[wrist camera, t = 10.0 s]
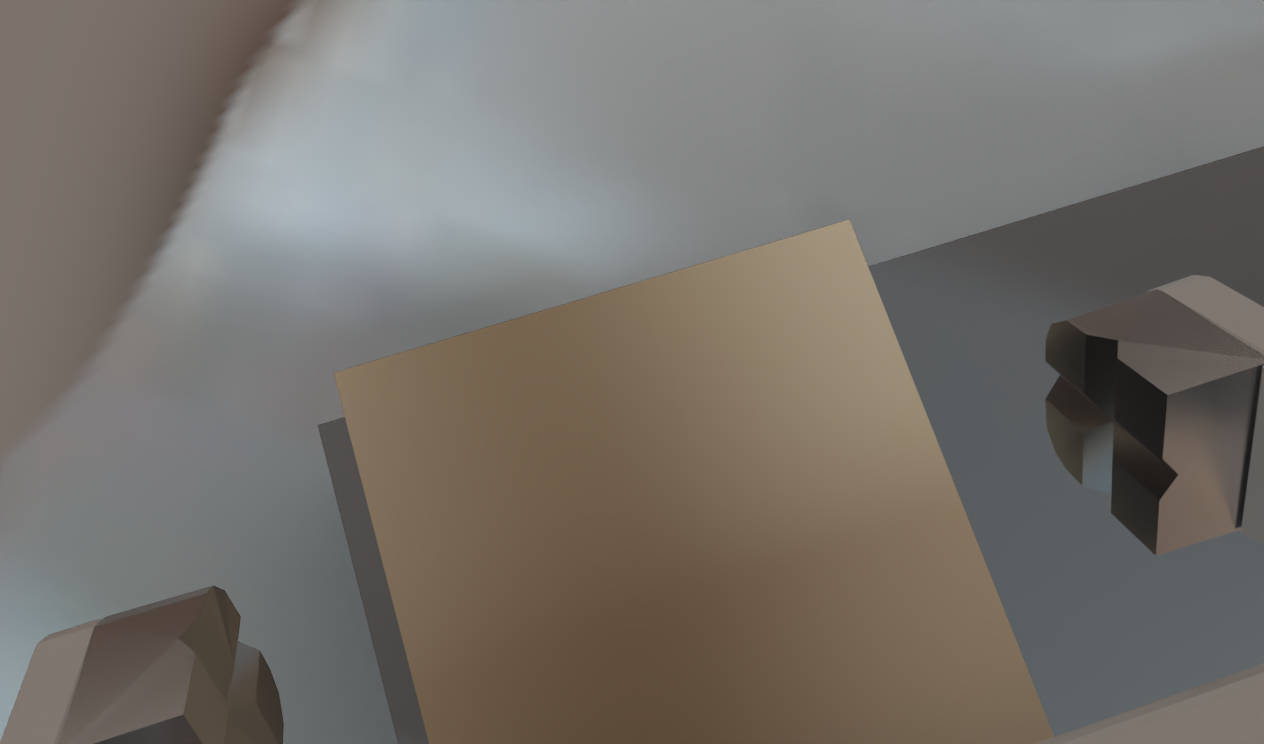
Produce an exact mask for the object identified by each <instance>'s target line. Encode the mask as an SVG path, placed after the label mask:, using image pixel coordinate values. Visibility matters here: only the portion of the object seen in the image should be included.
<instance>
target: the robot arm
mask: <svg viewBox="0 0 1264 744" xmlns="http://www.w3.org/2000/svg"><path fill="white" fill-rule="evenodd" d="M1045 361H1046V362H1047V363H1048V364H1049V365H1050V366H1051V367H1052V368H1053V369H1054V370H1055V371H1056V372H1057V373H1058V374H1059V375H1060V376H1059V377H1058V379H1057V381H1056V382H1055V384H1054V385H1053V387H1052V389H1051V390H1050V392H1049V394H1048V395H1047V397H1046V399H1045V403H1046V426H1047V430H1048V433H1049V436H1050V438H1051V441H1052V444H1053V447H1054V450H1055V453H1056V454H1057V456H1058V457H1059V459H1060V460H1061V462H1062V463H1063V465H1064V467H1065V468H1066V470H1067V471H1068V472H1069V473H1070V474H1071V475H1072V476H1073V477H1074V478H1075V479H1076V480H1077V481H1078V482H1079V483H1080V484H1081V485H1082V486H1085V487H1088V488H1092V489H1095V490H1098V491H1101V492H1105V493H1108V494H1111V514H1112V515H1113V516H1114V517H1115V518H1117V519H1118V520H1119V521H1120V522H1121V523H1122V524H1123V525H1124V526H1125V527H1126V528H1127V529H1128V530H1129V531H1130V532H1131V533H1132V534H1133V535H1134V536H1136V537H1137V538H1138V539H1139V540H1140V541H1141V542H1142V543H1143V544H1144V545H1145V546H1146V547H1147V548H1148V549H1149V550H1150V551H1151V552H1152V553H1153V554H1154V555H1156V556H1157V555H1160V554H1163V553H1167V552H1170V551H1173V550H1176V549H1179V548H1183V547H1186V546H1189V545H1192V544H1196V543H1199V542H1202V541H1205V540H1209V539H1212V538H1215V537H1218V536H1222V535H1225V534H1228V533H1231V532H1235V531H1238V530H1241V534H1242V535H1245V536H1247V537H1250V538H1252V539H1255V540H1257V541H1260V542H1262V543H1264V307H1263V306H1261V305H1259V304H1257V303H1255V302H1254V301H1252V300H1250V299H1248V298H1247V297H1245V296H1243V295H1241V294H1240V293H1238V292H1236V291H1234V290H1233V289H1231V288H1229V287H1227V286H1226V285H1224V284H1222V283H1220V282H1219V281H1217V280H1215V279H1213V278H1211V277H1208V276H1200V275H1191V276H1188V277H1186V278H1183V279H1180V280H1177V281H1174V282H1171V283H1168V284H1165V285H1163V286H1160V287H1157V288H1154V289H1151V290H1148V291H1146V292H1145V293H1144V294H1141V295H1138V296H1135V297H1131V298H1128V299H1125V300H1122V301H1119V302H1116V303H1113V304H1110V305H1107V306H1104V307H1101V308H1098V309H1095V310H1091V311H1088V312H1085V313H1082V314H1079V315H1076V316H1073V317H1070V318H1067V319H1064V320H1061V321H1058V322H1055V323H1051V326H1050V328H1049V331H1048V334H1047V337H1046V350H1045ZM239 626H240V615H239V613H238V612H237V610H236V608H235V607H234V605H233V604H232V602H231V600H230V599H229V597H228V595H227V594H226V592H225V591H224V590H222V589H220V588H217V587H215V586H210V587H207V588H203V589H200V590H197V591H193V592H190V593H186V594H183V595H179V596H176V597H173V598H169V599H166V600H162V601H159V602H155V603H152V604H149V605H145V606H142V607H138V608H135V609H131V610H128V611H125V612H121V613H118V614H114V615H111V616H107V617H105V618H104V619H100V620H94V621H91V622H88V623H85V624H82V625H78V626H75V627H72V628H69V629H66V630H62V631H59V632H56V633H53V634H50V635H48V636H47V637H46V638H44V639H43V640H42V641H40V642H39V643H38V644H37V646H36V648H35V650H34V653H33V656H32V658H31V661H30V664H29V666H28V669H27V672H26V674H25V677H24V680H23V682H22V685H21V688H20V691H19V693H18V696H17V699H16V701H15V704H14V707H13V709H12V712H11V715H10V717H9V720H8V723H7V725H6V728H5V731H4V734H3V736H2V739H1V742H0V744H283V726H284V724H283V717H282V711H281V704H280V698H279V693H278V690H277V687H276V684H275V682H274V679H273V676H272V673H271V671H270V669H269V667H268V665H267V663H266V661H265V659H264V658H263V656H262V654H261V652H260V651H259V650H256V649H254V648H252V647H250V646H248V645H245V644H243V643H241V642H239V641H238V634H239ZM1034 744H1264V663H1262V664H1259V665H1256V666H1253V667H1250V668H1247V669H1245V670H1242V671H1239V672H1236V673H1233V674H1230V675H1227V676H1225V677H1222V678H1219V679H1216V680H1213V681H1210V682H1208V683H1205V684H1202V685H1199V686H1196V687H1193V688H1191V689H1188V690H1185V691H1182V692H1179V693H1176V694H1173V695H1171V696H1168V697H1165V698H1162V699H1159V700H1156V701H1154V702H1151V703H1148V704H1145V705H1142V706H1139V707H1137V708H1134V709H1131V710H1128V711H1125V712H1122V713H1119V714H1117V715H1114V716H1111V717H1108V718H1105V719H1102V720H1100V721H1097V722H1094V723H1091V724H1088V725H1085V726H1083V727H1080V728H1077V729H1074V730H1071V731H1068V732H1066V733H1063V734H1060V735H1057V736H1054V737H1051V738H1048V739H1046V740H1043V741H1040V742H1037V743H1034Z"/></svg>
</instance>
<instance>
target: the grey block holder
mask: <svg viewBox="0 0 1264 744" xmlns="http://www.w3.org/2000/svg"><path fill="white" fill-rule="evenodd" d="M869 270H870V273H871V275H872V278H873V280H874V283H875V285H876V288H877V290H878V293H879V295H880V298H881V300H882V303H883V305H884V308H885V310H886V313H887V315H888V318H889V320H890V323H891V326H892V328H893V331H894V333H895V336H896V338H897V341H898V343H899V346H900V348H901V351H902V353H903V356H904V358H905V361H906V363H907V366H908V368H909V371H910V373H911V376H912V379H913V381H914V384H915V386H916V389H917V391H918V394H919V396H920V399H921V401H922V404H923V406H924V409H925V411H926V414H927V416H928V419H929V421H930V424H931V426H932V429H933V432H934V434H935V437H936V439H937V442H938V444H939V447H940V449H941V452H942V454H943V457H944V459H945V462H946V464H947V467H948V469H949V472H950V474H951V477H952V480H953V482H954V485H955V487H956V490H957V492H958V495H959V497H960V500H961V502H962V505H963V507H964V510H965V512H966V515H967V517H968V520H969V522H970V525H971V527H972V530H973V533H974V535H975V538H976V540H977V543H978V545H979V548H980V550H981V553H982V555H983V558H984V560H985V563H986V565H987V568H988V570H989V573H990V575H991V578H992V580H993V583H994V586H995V588H996V591H997V593H998V596H999V598H1000V601H1001V603H1002V606H1003V608H1004V611H1005V613H1006V616H1007V618H1008V621H1009V623H1010V626H1011V628H1012V631H1013V633H1014V636H1015V639H1016V641H1017V644H1018V646H1019V649H1020V651H1021V654H1022V656H1023V659H1024V661H1025V664H1026V666H1027V669H1028V671H1029V674H1030V676H1031V679H1032V681H1033V684H1034V686H1035V689H1036V692H1037V694H1038V697H1039V699H1040V702H1041V704H1042V707H1043V709H1044V712H1045V714H1046V717H1047V719H1048V722H1049V724H1050V727H1051V729H1052V732H1053V734H1054V736H1057V735H1060V734H1063V733H1066V732H1068V731H1071V730H1074V729H1077V728H1080V727H1083V726H1085V725H1088V724H1091V723H1094V722H1097V721H1100V720H1102V719H1105V718H1108V717H1111V716H1114V715H1117V714H1119V713H1122V712H1125V711H1128V710H1131V709H1134V708H1137V707H1139V706H1142V705H1145V704H1148V703H1151V702H1154V701H1156V700H1159V699H1162V698H1165V697H1168V696H1171V695H1173V694H1176V693H1179V692H1182V691H1185V690H1188V689H1191V688H1193V687H1196V686H1199V685H1202V684H1205V683H1208V682H1210V681H1213V680H1216V679H1219V678H1222V677H1225V676H1227V675H1230V674H1233V673H1236V672H1239V671H1242V670H1245V669H1247V668H1250V667H1253V666H1256V665H1259V664H1262V663H1264V543H1262V542H1260V541H1257V540H1255V539H1252V538H1250V537H1247V536H1245V535H1242V534H1241V530H1238V531H1235V532H1231V533H1228V534H1225V535H1222V536H1218V537H1215V538H1212V539H1209V540H1205V541H1202V542H1199V543H1196V544H1192V545H1189V546H1186V547H1183V548H1179V549H1176V550H1173V551H1170V552H1167V553H1163V554H1160V555H1157V556H1156V555H1154V554H1153V553H1152V552H1151V551H1150V550H1149V549H1148V548H1147V547H1146V546H1145V545H1144V544H1143V543H1142V542H1141V541H1140V540H1139V539H1138V538H1137V537H1136V536H1134V535H1133V534H1132V533H1131V532H1130V531H1129V530H1128V529H1127V528H1126V527H1125V526H1124V525H1123V524H1122V523H1121V522H1120V521H1119V520H1118V519H1117V518H1115V517H1114V516H1113V515H1112V514H1111V494H1108V493H1105V492H1101V491H1098V490H1095V489H1092V488H1088V487H1085V486H1082V485H1081V484H1080V483H1079V482H1078V481H1077V480H1076V479H1075V478H1074V477H1073V476H1072V475H1071V474H1070V473H1069V472H1068V471H1067V470H1066V468H1065V467H1064V465H1063V463H1062V462H1061V460H1060V459H1059V457H1058V456H1057V454H1056V453H1055V450H1054V447H1053V444H1052V441H1051V438H1050V436H1049V433H1048V430H1047V426H1046V403H1045V399H1046V397H1047V395H1048V394H1049V392H1050V390H1051V389H1052V387H1053V385H1054V384H1055V382H1056V381H1057V379H1058V377H1059V376H1060V375H1059V374H1058V373H1057V372H1056V371H1055V370H1054V369H1053V368H1052V367H1051V366H1050V365H1049V364H1048V363H1047V362H1046V361H1045V350H1046V337H1047V334H1048V331H1049V328H1050V326H1051V323H1055V322H1058V321H1061V320H1064V319H1067V318H1070V317H1073V316H1076V315H1079V314H1082V313H1085V312H1088V311H1091V310H1095V309H1098V308H1101V307H1104V306H1107V305H1110V304H1113V303H1116V302H1119V301H1122V300H1125V299H1128V298H1131V297H1135V296H1138V295H1141V294H1144V293H1145V292H1146V291H1148V290H1151V289H1154V288H1157V287H1160V286H1163V285H1165V284H1168V283H1171V282H1174V281H1177V280H1180V279H1183V278H1186V277H1188V276H1191V275H1200V276H1208V277H1211V278H1213V279H1215V280H1217V281H1219V282H1220V283H1222V284H1224V285H1226V286H1227V287H1229V288H1231V289H1233V290H1234V291H1236V292H1238V293H1240V294H1241V295H1243V296H1245V297H1247V298H1248V299H1250V300H1252V301H1254V302H1255V303H1257V304H1259V305H1261V306H1263V307H1264V147H1261V148H1258V149H1254V150H1251V151H1248V152H1244V153H1241V154H1238V155H1235V156H1231V157H1228V158H1225V159H1221V160H1218V161H1215V162H1212V163H1208V164H1205V165H1202V166H1198V167H1195V168H1192V169H1188V170H1185V171H1182V172H1179V173H1175V174H1172V175H1169V176H1165V177H1162V178H1159V179H1156V180H1152V181H1149V182H1146V183H1142V184H1139V185H1136V186H1133V187H1129V188H1126V189H1123V190H1119V191H1116V192H1113V193H1109V194H1106V195H1103V196H1100V197H1096V198H1093V199H1090V200H1086V201H1083V202H1080V203H1077V204H1073V205H1070V206H1067V207H1063V208H1060V209H1057V210H1054V211H1050V212H1047V213H1044V214H1040V215H1037V216H1034V217H1030V218H1027V219H1024V220H1021V221H1017V222H1014V223H1011V224H1007V225H1004V226H1001V227H998V228H994V229H991V230H988V231H984V232H981V233H978V234H975V235H971V236H968V237H965V238H961V239H958V240H955V241H951V242H948V243H945V244H942V245H938V246H935V247H932V248H928V249H925V250H922V251H919V252H915V253H912V254H909V255H905V256H902V257H899V258H896V259H892V260H889V261H886V262H882V263H879V264H876V265H872V266H869ZM318 427H319V431H320V435H321V439H322V443H323V447H324V451H325V455H326V459H327V463H328V467H329V471H330V475H331V479H332V483H333V487H334V491H335V495H336V499H337V503H338V506H339V510H340V514H341V518H342V522H343V526H344V530H345V534H346V538H347V542H348V546H349V550H350V554H351V558H352V562H353V566H354V570H355V574H356V578H357V582H358V586H359V590H360V594H361V597H362V601H363V605H364V609H365V613H366V617H367V621H368V625H369V629H370V633H371V637H372V641H373V645H374V649H375V653H376V657H377V661H378V665H379V669H380V673H381V677H382V681H383V685H384V688H385V692H386V696H387V700H388V704H389V708H390V712H391V716H392V720H393V724H394V728H395V732H396V736H397V740H398V744H429V741H428V737H427V733H426V729H425V725H424V721H423V717H422V714H421V710H420V706H419V702H418V698H417V694H416V690H415V686H414V683H413V679H412V675H411V671H410V667H409V663H408V659H407V655H406V652H405V648H404V644H403V640H402V636H401V632H400V628H399V624H398V621H397V617H396V613H395V609H394V605H393V601H392V597H391V593H390V590H389V586H388V582H387V578H386V574H385V570H384V566H383V562H382V559H381V555H380V551H379V547H378V543H377V539H376V535H375V531H374V528H373V524H372V520H371V516H370V512H369V508H368V504H367V500H366V497H365V493H364V489H363V485H362V481H361V477H360V473H359V469H358V466H357V462H356V458H355V454H354V450H353V446H352V442H351V438H350V435H349V431H348V427H347V423H346V419H345V417H343V418H340V419H337V420H334V421H330V422H327V423H324V424H320V425H318Z"/></svg>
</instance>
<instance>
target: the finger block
mask: <svg viewBox="0 0 1264 744" xmlns="http://www.w3.org/2000/svg"><path fill="white" fill-rule="evenodd" d="M334 376H335V380H336V384H337V388H338V392H339V396H340V400H341V404H342V407H343V411H344V415H345V419H346V423H347V427H348V431H349V435H350V438H351V442H352V446H353V450H354V454H355V458H356V462H357V466H358V469H359V473H360V477H361V481H362V485H363V489H364V493H365V497H366V500H367V504H368V508H369V512H370V516H371V520H372V524H373V528H374V531H375V535H376V539H377V543H378V547H379V551H380V555H381V559H382V562H383V566H384V570H385V574H386V578H387V582H388V586H389V590H390V593H391V597H392V601H393V605H394V609H395V613H396V617H397V621H398V624H399V628H400V632H401V636H402V640H403V644H404V648H405V652H406V655H407V659H408V663H409V667H410V671H411V675H412V679H413V683H414V686H415V690H416V694H417V698H418V702H419V706H420V710H421V714H422V717H423V721H424V725H425V729H426V733H427V737H428V741H429V744H1034V743H1037V742H1040V741H1043V740H1046V739H1048V738H1051V737H1054V734H1053V732H1052V729H1051V727H1050V724H1049V722H1048V719H1047V717H1046V714H1045V712H1044V709H1043V707H1042V704H1041V702H1040V699H1039V697H1038V694H1037V692H1036V689H1035V686H1034V684H1033V681H1032V679H1031V676H1030V674H1029V671H1028V669H1027V666H1026V664H1025V661H1024V659H1023V656H1022V654H1021V651H1020V649H1019V646H1018V644H1017V641H1016V639H1015V636H1014V633H1013V631H1012V628H1011V626H1010V623H1009V621H1008V618H1007V616H1006V613H1005V611H1004V608H1003V606H1002V603H1001V601H1000V598H999V596H998V593H997V591H996V588H995V586H994V583H993V580H992V578H991V575H990V573H989V570H988V568H987V565H986V563H985V560H984V558H983V555H982V553H981V550H980V548H979V545H978V543H977V540H976V538H975V535H974V533H973V530H972V527H971V525H970V522H969V520H968V517H967V515H966V512H965V510H964V507H963V505H962V502H961V500H960V497H959V495H958V492H957V490H956V487H955V485H954V482H953V480H952V477H951V474H950V472H949V469H948V467H947V464H946V462H945V459H944V457H943V454H942V452H941V449H940V447H939V444H938V442H937V439H936V437H935V434H934V432H933V429H932V426H931V424H930V421H929V419H928V416H927V414H926V411H925V409H924V406H923V404H922V401H921V399H920V396H919V394H918V391H917V389H916V386H915V384H914V381H913V379H912V376H911V373H910V371H909V368H908V366H907V363H906V361H905V358H904V356H903V353H902V351H901V348H900V346H899V343H898V341H897V338H896V336H895V333H894V331H893V328H892V326H891V323H890V320H889V318H888V315H887V313H886V310H885V308H884V305H883V303H882V300H881V298H880V295H879V293H878V290H877V288H876V285H875V283H874V280H873V278H872V275H871V273H870V270H869V267H868V265H867V262H866V260H865V257H864V255H863V252H862V250H861V247H860V245H859V242H858V240H857V237H856V235H855V232H854V230H853V227H852V225H851V222H850V220H846V221H842V222H839V223H836V224H832V225H829V226H826V227H822V228H819V229H815V230H812V231H809V232H805V233H802V234H799V235H795V236H792V237H789V238H785V239H782V240H779V241H775V242H772V243H768V244H765V245H762V246H758V247H755V248H752V249H748V250H745V251H742V252H738V253H735V254H731V255H728V256H725V257H721V258H718V259H715V260H711V261H708V262H705V263H701V264H698V265H694V266H691V267H688V268H684V269H681V270H678V271H674V272H671V273H668V274H664V275H661V276H657V277H654V278H651V279H647V280H644V281H641V282H637V283H634V284H631V285H627V286H624V287H620V288H617V289H614V290H610V291H607V292H604V293H600V294H597V295H594V296H590V297H587V298H583V299H580V300H577V301H573V302H570V303H567V304H563V305H560V306H557V307H553V308H550V309H546V310H543V311H540V312H536V313H533V314H530V315H526V316H523V317H520V318H516V319H513V320H509V321H506V322H503V323H499V324H496V325H493V326H489V327H486V328H483V329H479V330H476V331H472V332H469V333H466V334H462V335H459V336H456V337H452V338H449V339H446V340H442V341H439V342H435V343H432V344H429V345H425V346H422V347H419V348H415V349H412V350H409V351H405V352H402V353H398V354H395V355H392V356H388V357H385V358H382V359H378V360H375V361H372V362H368V363H365V364H361V365H358V366H355V367H351V368H348V369H345V370H341V371H338V372H335V373H334Z"/></svg>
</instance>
